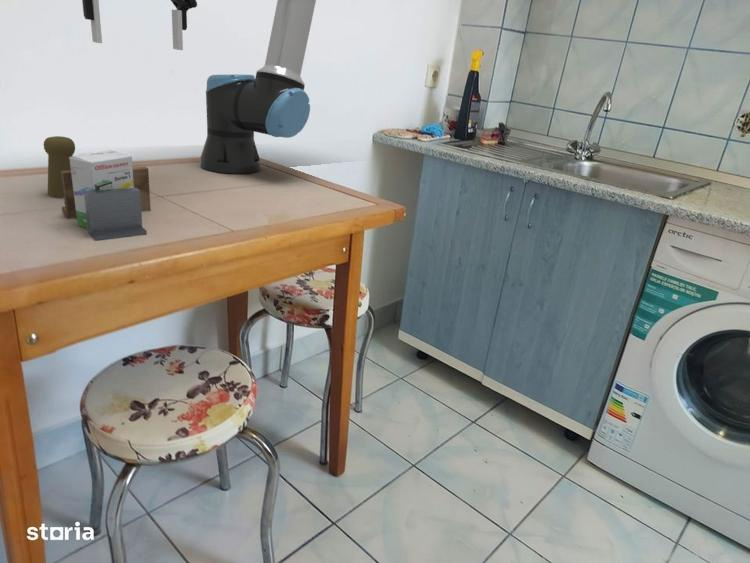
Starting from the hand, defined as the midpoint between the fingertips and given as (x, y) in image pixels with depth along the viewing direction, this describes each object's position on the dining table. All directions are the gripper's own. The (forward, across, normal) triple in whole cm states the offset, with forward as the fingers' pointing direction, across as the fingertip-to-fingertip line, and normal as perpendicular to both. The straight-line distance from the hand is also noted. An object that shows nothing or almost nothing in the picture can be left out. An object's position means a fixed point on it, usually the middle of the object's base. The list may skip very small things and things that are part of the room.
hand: (139, 46), depth 94 cm
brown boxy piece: (+29, +8, +2) cm, 30 cm away
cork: (+29, +12, -12) cm, 33 cm away
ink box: (+29, +10, +8) cm, 31 cm away
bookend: (+29, +10, +13) cm, 33 cm away
